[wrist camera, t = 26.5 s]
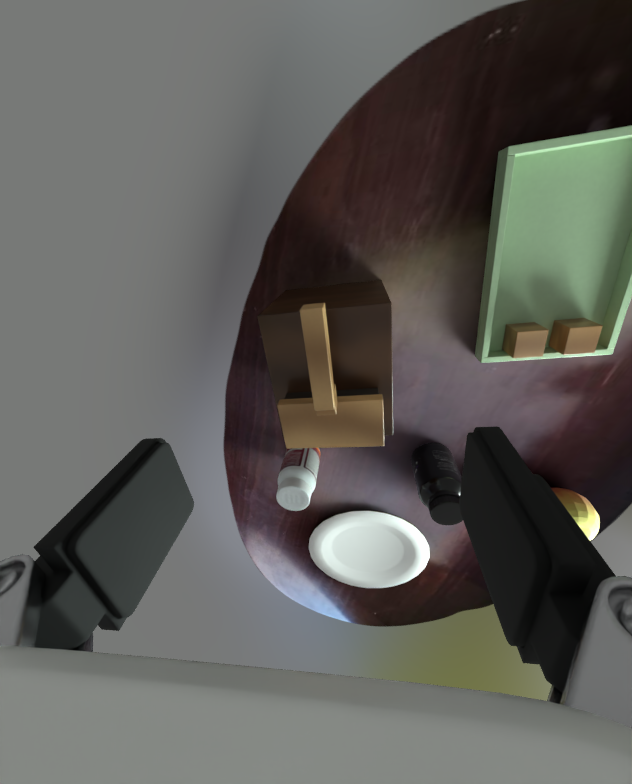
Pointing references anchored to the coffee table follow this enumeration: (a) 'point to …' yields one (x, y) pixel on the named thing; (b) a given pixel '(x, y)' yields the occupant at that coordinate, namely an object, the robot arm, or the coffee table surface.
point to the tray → (559, 239)
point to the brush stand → (333, 340)
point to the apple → (580, 511)
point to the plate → (369, 549)
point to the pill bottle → (297, 477)
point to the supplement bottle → (438, 482)
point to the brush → (328, 399)
